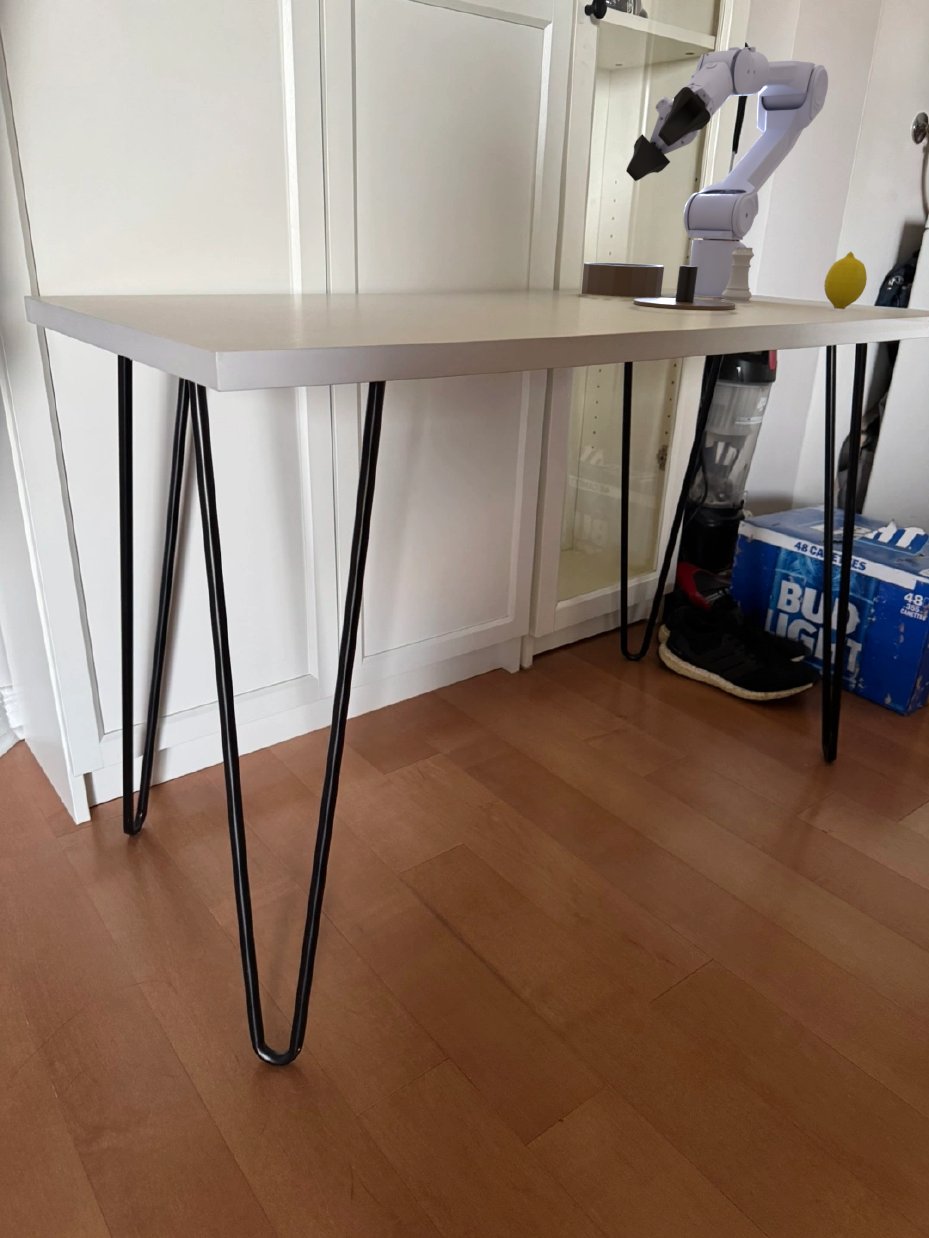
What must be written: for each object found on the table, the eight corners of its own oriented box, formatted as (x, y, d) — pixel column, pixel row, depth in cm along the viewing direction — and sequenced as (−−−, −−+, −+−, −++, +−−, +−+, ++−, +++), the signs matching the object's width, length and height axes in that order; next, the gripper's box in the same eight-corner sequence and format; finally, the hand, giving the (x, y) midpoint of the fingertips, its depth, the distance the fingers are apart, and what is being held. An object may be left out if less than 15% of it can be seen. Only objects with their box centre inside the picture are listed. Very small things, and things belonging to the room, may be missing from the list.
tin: (620, 294, 148) (623, 262, 146) (676, 300, 139) (680, 266, 137) (565, 295, 142) (567, 262, 140) (620, 301, 132) (623, 266, 131)
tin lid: (679, 305, 129) (684, 264, 126) (755, 313, 119) (762, 269, 117) (612, 307, 121) (616, 263, 119) (688, 316, 111) (694, 268, 109)
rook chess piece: (743, 304, 134) (751, 247, 131) (755, 307, 130) (764, 248, 127) (715, 304, 133) (723, 246, 130) (726, 306, 129) (735, 247, 126)
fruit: (867, 311, 129) (879, 252, 126) (848, 312, 125) (860, 252, 122) (831, 308, 133) (842, 251, 129) (812, 309, 129) (823, 250, 126)
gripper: (646, 118, 132) (599, 168, 127) (708, 46, 118) (659, 98, 113) (678, 154, 133) (633, 205, 128) (743, 87, 120) (696, 140, 115)
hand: (647, 157), depth 121 cm, fingers open, 7 cm apart
